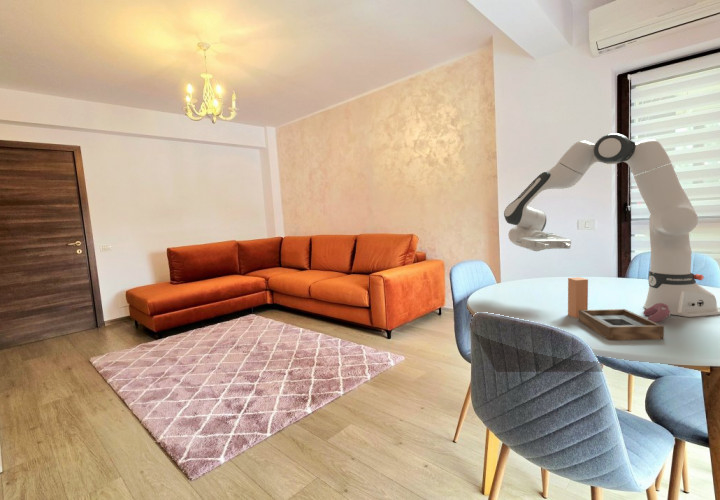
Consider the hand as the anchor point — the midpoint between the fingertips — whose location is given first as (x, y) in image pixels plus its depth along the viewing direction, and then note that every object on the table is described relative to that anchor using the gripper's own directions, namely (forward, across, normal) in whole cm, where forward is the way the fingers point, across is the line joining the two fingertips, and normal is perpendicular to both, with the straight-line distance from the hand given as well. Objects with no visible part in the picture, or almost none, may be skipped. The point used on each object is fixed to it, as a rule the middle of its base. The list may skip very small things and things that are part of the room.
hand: (558, 246), depth 135 cm
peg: (+13, +1, +24) cm, 27 cm away
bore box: (+29, +2, +22) cm, 36 cm away
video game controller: (+25, +22, +21) cm, 39 cm away
